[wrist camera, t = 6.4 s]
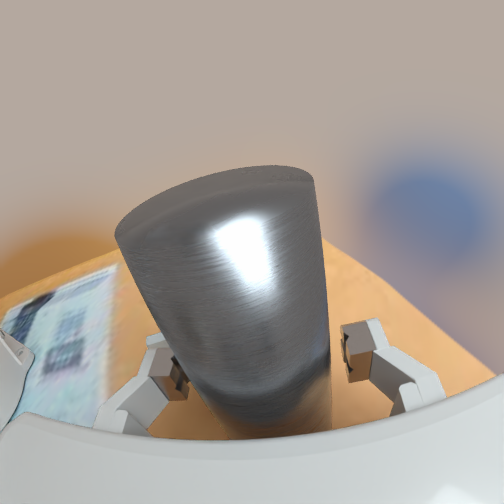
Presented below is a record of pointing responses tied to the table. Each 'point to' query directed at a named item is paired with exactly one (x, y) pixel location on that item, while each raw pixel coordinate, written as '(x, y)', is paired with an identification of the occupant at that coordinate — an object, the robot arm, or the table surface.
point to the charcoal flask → (240, 295)
